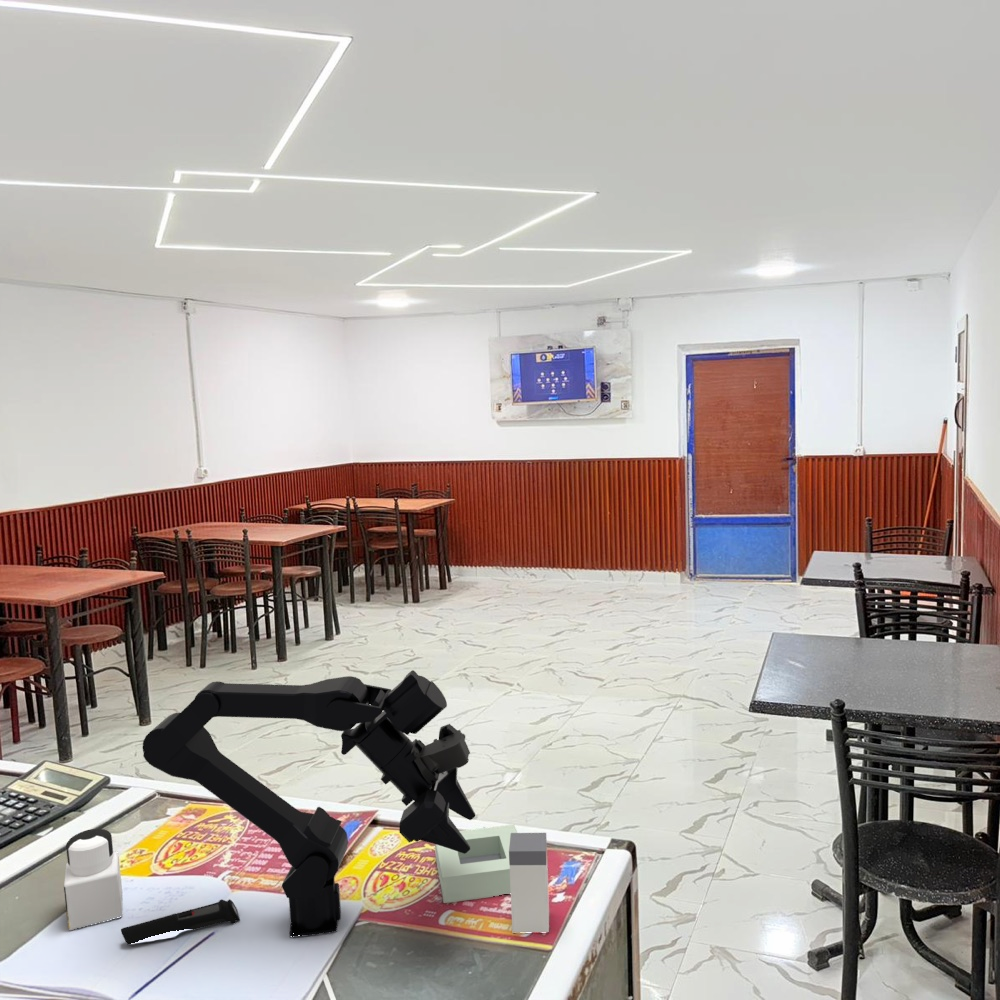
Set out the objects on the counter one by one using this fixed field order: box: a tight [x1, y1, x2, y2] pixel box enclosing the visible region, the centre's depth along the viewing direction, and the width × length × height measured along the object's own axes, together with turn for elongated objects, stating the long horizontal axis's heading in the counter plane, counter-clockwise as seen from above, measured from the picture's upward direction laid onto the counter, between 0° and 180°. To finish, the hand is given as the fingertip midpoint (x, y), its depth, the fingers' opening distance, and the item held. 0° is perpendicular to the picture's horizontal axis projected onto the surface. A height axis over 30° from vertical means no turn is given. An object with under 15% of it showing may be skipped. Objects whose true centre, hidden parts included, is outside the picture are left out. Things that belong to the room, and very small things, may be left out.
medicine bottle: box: [63, 828, 124, 931], centre depth 129 cm, size 7×7×12 cm
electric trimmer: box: [120, 898, 241, 945], centre depth 124 cm, size 4×16×3 cm, turn 113°
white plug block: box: [509, 832, 550, 934], centre depth 122 cm, size 5×5×12 cm
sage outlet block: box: [434, 824, 518, 904], centre depth 135 cm, size 13×13×4 cm
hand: (470, 833), depth 122 cm, fingers open, 9 cm apart
